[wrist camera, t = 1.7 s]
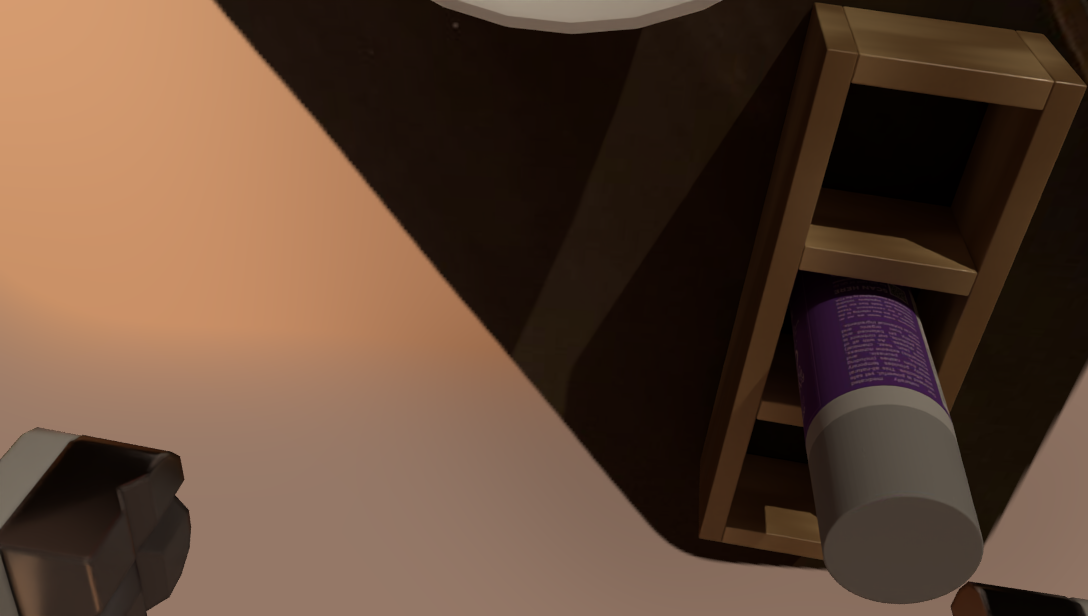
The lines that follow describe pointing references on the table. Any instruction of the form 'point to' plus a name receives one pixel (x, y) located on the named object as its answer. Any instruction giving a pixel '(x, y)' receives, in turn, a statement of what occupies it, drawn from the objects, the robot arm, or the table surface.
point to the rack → (877, 236)
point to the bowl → (576, 13)
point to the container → (880, 443)
